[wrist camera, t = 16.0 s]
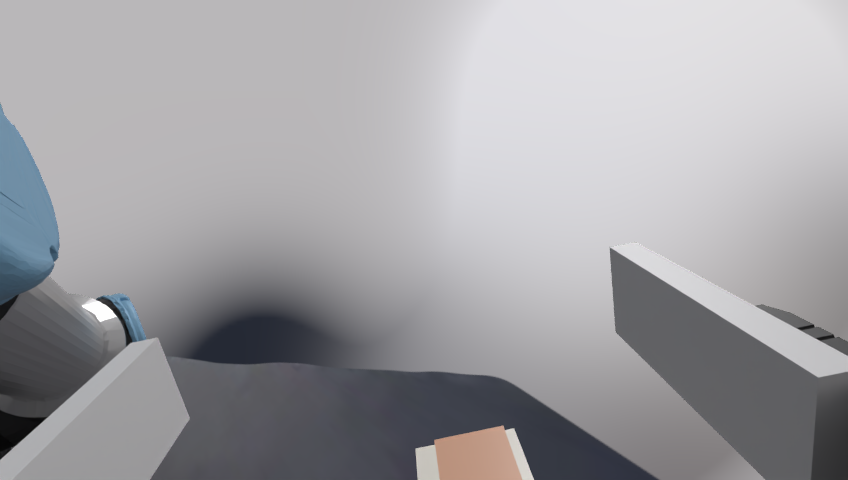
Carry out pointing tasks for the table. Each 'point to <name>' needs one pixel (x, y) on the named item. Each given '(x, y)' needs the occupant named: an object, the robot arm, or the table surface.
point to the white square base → (429, 465)
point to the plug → (477, 456)
